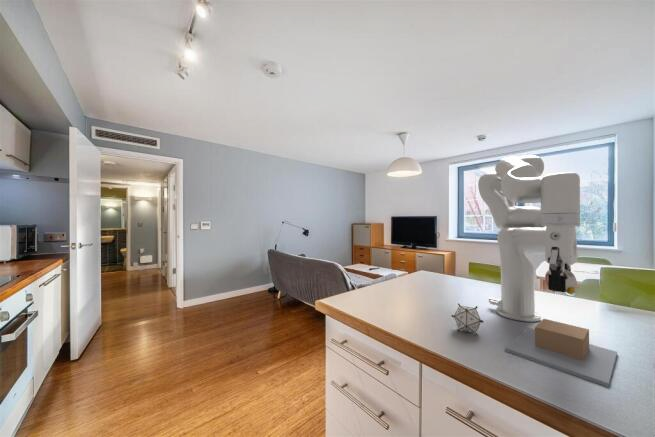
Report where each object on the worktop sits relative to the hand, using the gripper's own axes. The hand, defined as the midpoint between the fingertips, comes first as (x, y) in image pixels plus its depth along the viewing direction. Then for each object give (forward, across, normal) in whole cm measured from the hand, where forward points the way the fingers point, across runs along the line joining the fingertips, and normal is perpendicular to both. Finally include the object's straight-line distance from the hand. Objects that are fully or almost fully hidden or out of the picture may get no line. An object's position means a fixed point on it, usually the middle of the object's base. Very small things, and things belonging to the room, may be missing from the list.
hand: (560, 287), depth 65 cm
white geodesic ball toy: (+17, -8, +20) cm, 27 cm away
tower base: (+16, -2, 0) cm, 16 cm away
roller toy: (+1, 0, 0) cm, 1 cm away
